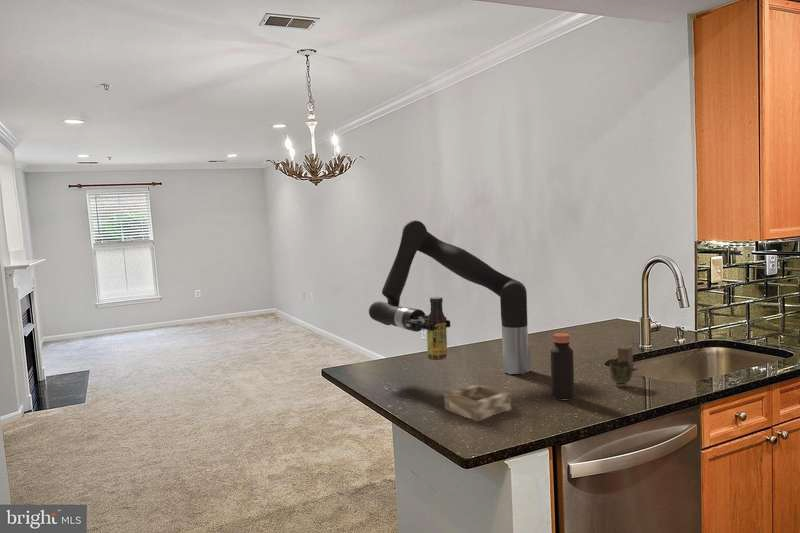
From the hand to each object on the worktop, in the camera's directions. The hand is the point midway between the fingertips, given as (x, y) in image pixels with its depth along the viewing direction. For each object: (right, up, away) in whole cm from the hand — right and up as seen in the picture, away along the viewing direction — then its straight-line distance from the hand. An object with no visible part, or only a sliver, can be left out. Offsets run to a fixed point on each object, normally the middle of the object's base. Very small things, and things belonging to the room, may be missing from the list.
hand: (441, 325), depth 186 cm
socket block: (+10, -24, -10) cm, 28 cm away
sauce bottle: (-1, -11, +3) cm, 11 cm away
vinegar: (+38, -22, -3) cm, 44 cm away
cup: (+59, -21, +5) cm, 63 cm away
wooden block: (+68, -18, +25) cm, 75 cm away
